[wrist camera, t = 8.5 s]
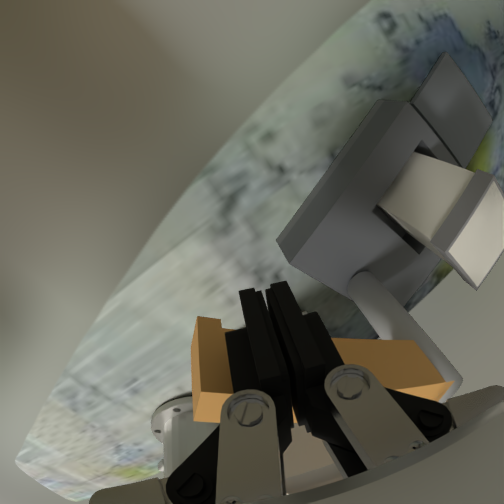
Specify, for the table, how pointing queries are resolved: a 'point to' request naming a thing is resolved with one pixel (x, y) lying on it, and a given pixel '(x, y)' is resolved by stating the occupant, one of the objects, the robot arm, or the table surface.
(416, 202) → the plug
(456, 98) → the mat
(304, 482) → the milk carton
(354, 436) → the robot arm
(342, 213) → the socket
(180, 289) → the table surface
